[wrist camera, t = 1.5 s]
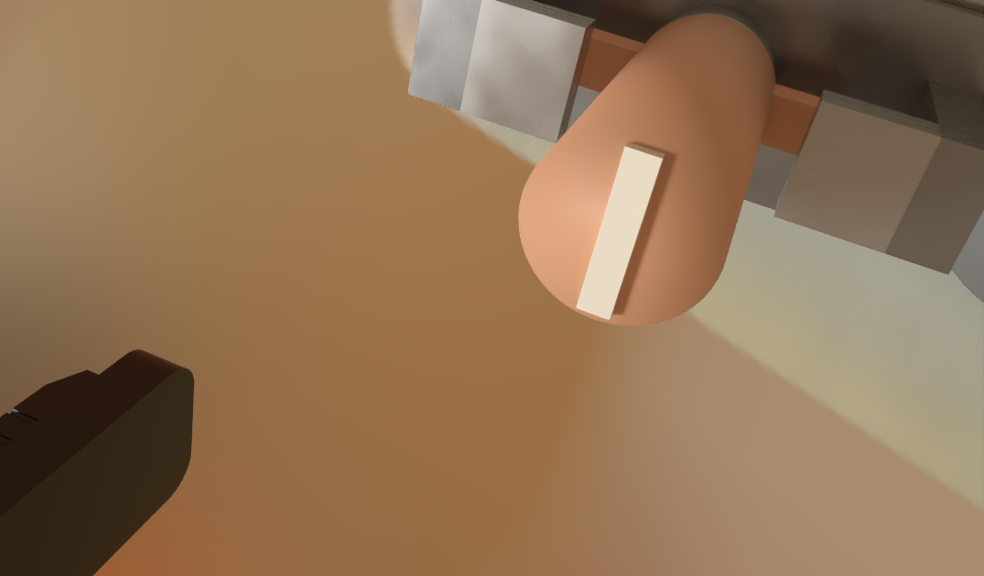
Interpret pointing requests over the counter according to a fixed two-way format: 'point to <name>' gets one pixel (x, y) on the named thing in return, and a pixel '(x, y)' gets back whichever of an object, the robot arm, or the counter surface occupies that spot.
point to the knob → (656, 169)
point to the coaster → (972, 261)
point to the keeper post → (797, 65)
